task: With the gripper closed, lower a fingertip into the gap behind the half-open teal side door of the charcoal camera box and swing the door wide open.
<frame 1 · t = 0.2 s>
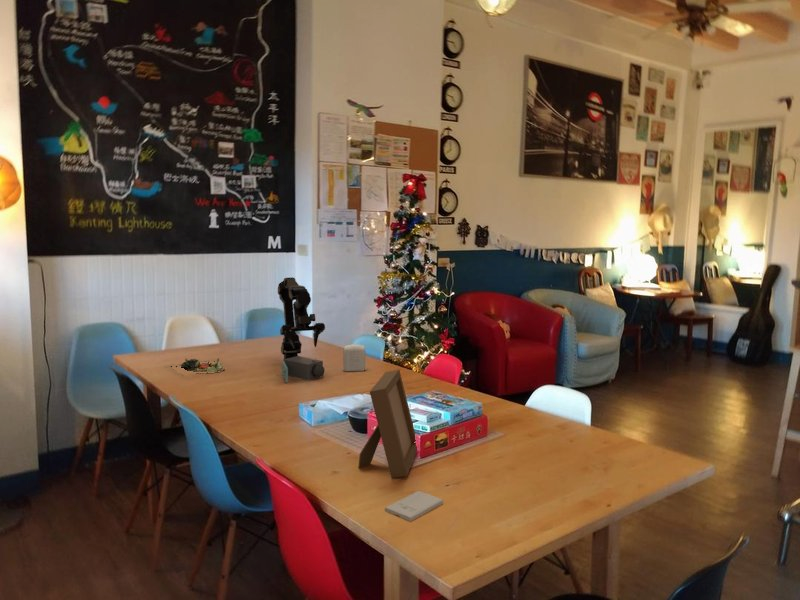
hand: (305, 347, 270), 15 cm above the table, tool tilted 30°, fingers open, 9 cm apart
door: (283, 371, 275), point 3 cm above the table, hinge at 35.0°
camera body: (303, 375, 282), on the table
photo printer: (354, 371, 291), on the table
plated dish: (202, 371, 294), on the table
photo frame: (387, 463, 182), on the table
external hard drive: (414, 509, 154), on the table
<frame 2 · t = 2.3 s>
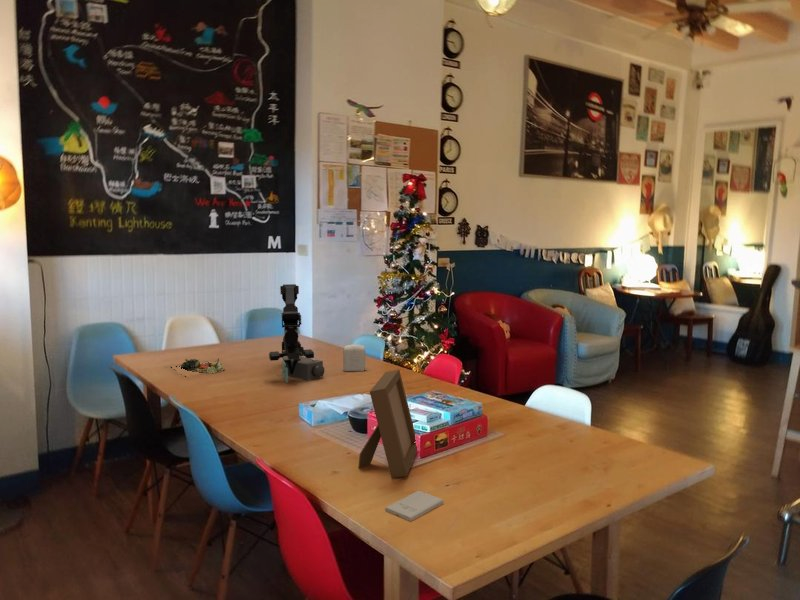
hand: (291, 374, 272), 3 cm above the table, tool pointing down, fingers closed
door: (283, 371, 275), point 3 cm above the table, hinge at 35.1°, touching gripper
everything else where it was.
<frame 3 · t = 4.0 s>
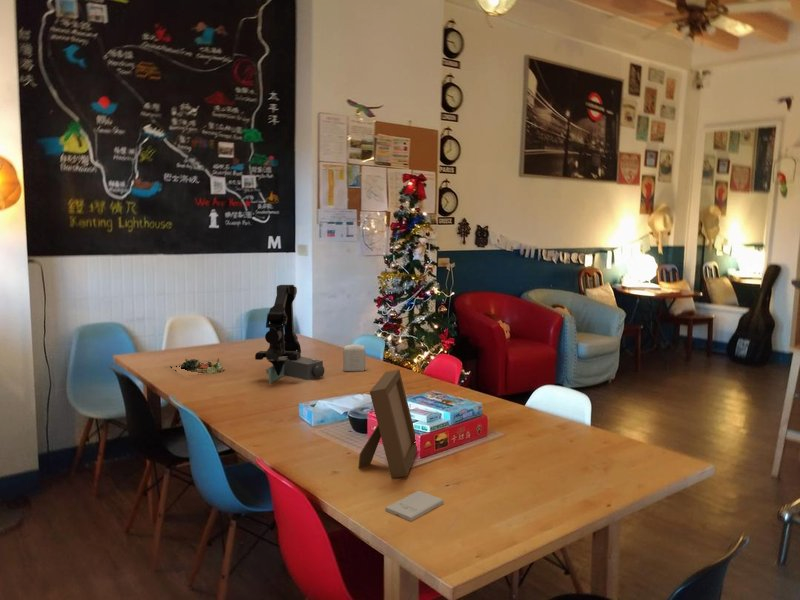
hand: (278, 375, 271), 3 cm above the table, tool pointing down, fingers closed
door: (275, 371, 275), point 3 cm above the table, hinge at 64.3°, touching gripper
everything else where it was.
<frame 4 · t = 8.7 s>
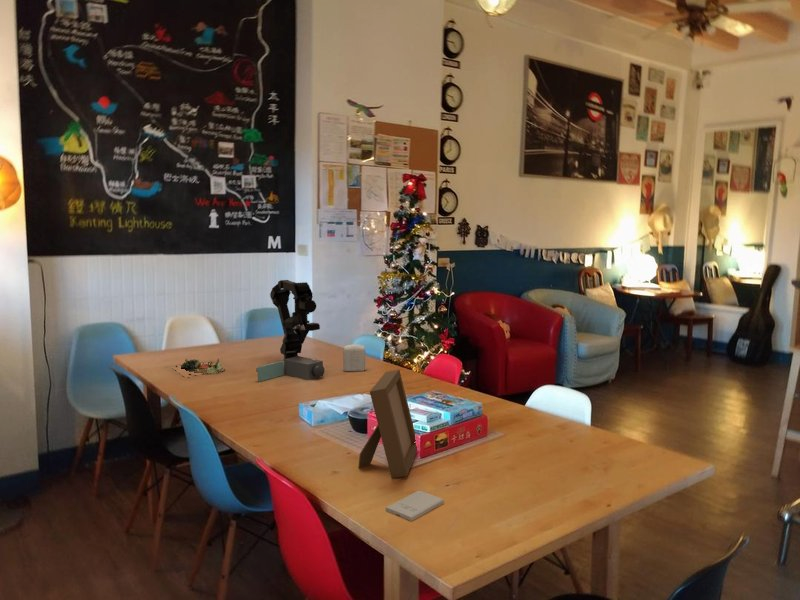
hand: (301, 343, 288), 13 cm above the table, tool pointing down, fingers closed
door: (270, 370, 276), point 3 cm above the table, hinge at 87.4°
at the end: door at +87° (first picture: +35°) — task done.
